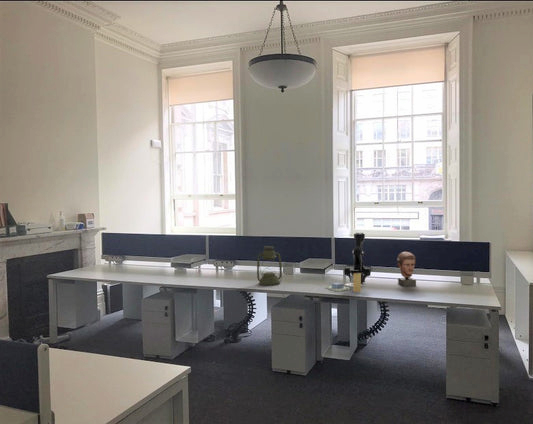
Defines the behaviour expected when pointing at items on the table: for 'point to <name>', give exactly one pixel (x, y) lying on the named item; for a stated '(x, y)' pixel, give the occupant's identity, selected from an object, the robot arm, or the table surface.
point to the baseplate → (337, 289)
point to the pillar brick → (357, 282)
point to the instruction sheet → (351, 284)
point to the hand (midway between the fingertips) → (357, 281)
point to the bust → (406, 268)
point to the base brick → (337, 285)
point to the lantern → (269, 277)
